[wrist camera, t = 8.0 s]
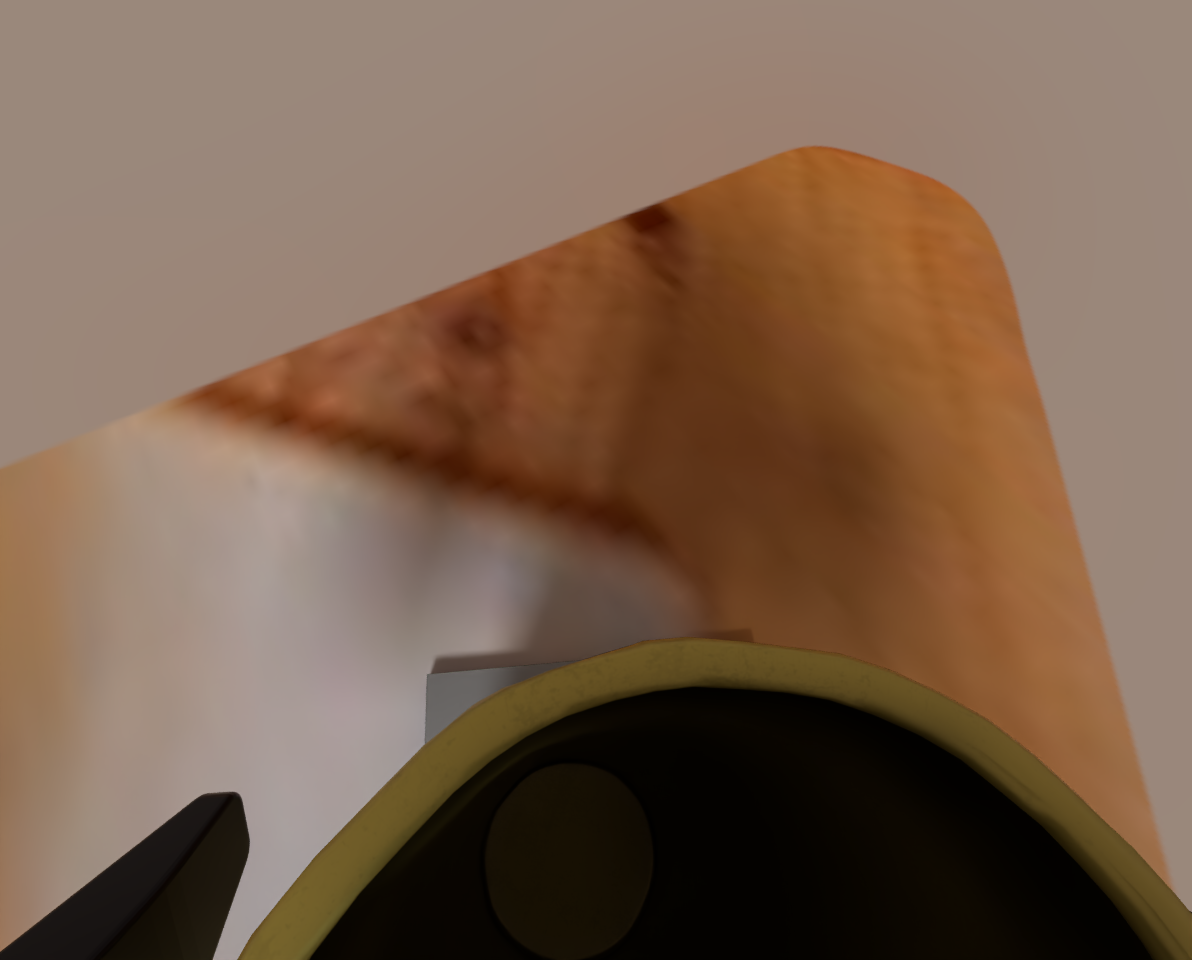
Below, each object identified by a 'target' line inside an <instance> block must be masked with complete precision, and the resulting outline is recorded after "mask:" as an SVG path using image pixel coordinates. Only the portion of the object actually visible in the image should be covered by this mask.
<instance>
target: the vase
mask: <svg viewBox="0 0 1192 960" xmlns="http://www.w3.org/2000/svg"><path fill="white" fill-rule="evenodd" d="M237 960H1192V913H1191V912H1190V911H1189V910H1188V909H1187V908H1186V906H1185V905H1184V904H1183V903H1182V902H1181V901H1180V899H1179V898H1178V897H1177V896H1176V895H1175V893H1174V892H1173V891H1172V890H1171V889H1170V888H1169V887H1168V886H1167V885H1166V884H1165V882H1164V881H1163V880H1162V879H1161V878H1160V877H1159V876H1158V875H1157V874H1156V872H1155V871H1154V870H1153V869H1152V868H1151V867H1150V866H1149V865H1148V864H1147V863H1146V861H1145V860H1144V859H1143V858H1142V857H1141V856H1140V855H1139V854H1138V853H1137V851H1136V850H1135V849H1134V848H1133V847H1132V846H1131V845H1130V844H1128V843H1127V842H1126V841H1125V840H1124V839H1123V838H1122V837H1121V836H1120V835H1119V834H1118V833H1117V832H1116V831H1114V830H1113V829H1112V828H1111V827H1110V826H1109V825H1108V824H1107V823H1106V822H1105V821H1104V820H1103V819H1102V818H1101V817H1100V816H1099V815H1098V814H1097V813H1096V812H1095V811H1094V810H1093V809H1092V808H1091V807H1090V806H1089V805H1088V804H1087V803H1086V802H1085V801H1084V800H1083V799H1082V798H1081V797H1080V796H1079V795H1078V794H1077V793H1076V792H1074V791H1073V790H1072V789H1071V788H1070V787H1069V786H1068V785H1067V784H1066V783H1065V782H1063V781H1062V780H1061V779H1060V778H1059V777H1058V776H1057V775H1056V774H1055V773H1054V772H1053V771H1051V770H1050V769H1049V768H1048V767H1047V766H1046V765H1045V764H1044V763H1043V762H1042V761H1040V760H1039V759H1038V758H1037V757H1036V756H1035V755H1034V754H1033V753H1031V752H1030V751H1029V750H1027V749H1026V748H1025V747H1024V746H1022V745H1021V744H1020V743H1018V742H1017V741H1016V740H1014V739H1013V738H1012V737H1011V736H1009V735H1008V734H1007V733H1005V732H1004V731H1003V730H1001V729H1000V728H999V727H997V726H996V725H995V724H994V723H992V722H991V721H990V720H988V719H987V718H985V717H983V716H981V715H980V714H978V713H976V712H974V711H972V710H971V709H969V708H967V707H965V706H963V705H962V704H960V703H958V702H956V701H954V700H952V699H951V698H949V697H947V696H945V695H943V694H942V693H940V692H938V691H935V690H933V689H931V688H929V687H927V686H924V685H922V684H920V683H918V682H916V681H913V680H911V679H909V678H907V677H905V676H902V675H900V674H898V673H896V672H894V671H892V670H889V669H886V668H883V667H880V666H877V665H874V664H871V663H868V662H865V661H862V660H859V659H856V658H852V657H849V656H846V655H843V654H839V653H832V652H824V651H816V650H809V649H801V648H793V647H785V646H777V645H768V644H760V643H751V642H743V641H731V640H719V639H707V638H695V637H680V638H669V639H658V640H647V641H641V642H639V643H636V644H633V645H630V646H627V647H624V648H620V649H617V650H614V651H610V652H607V653H604V654H600V655H597V656H594V657H591V658H588V659H584V660H581V661H578V662H575V663H572V664H568V665H565V666H562V667H559V668H556V669H552V670H549V671H547V672H544V673H542V674H539V675H537V676H534V677H532V678H529V679H527V680H524V681H522V682H519V683H516V684H513V685H510V686H507V687H504V688H502V689H500V690H498V691H497V692H495V693H493V694H491V695H489V696H488V697H486V698H484V699H482V700H480V701H479V702H477V703H475V704H474V705H472V706H471V707H470V708H468V709H467V710H466V711H465V712H464V713H462V714H461V715H460V716H459V717H458V718H456V719H455V720H454V721H453V722H452V723H450V724H449V725H448V726H447V727H446V728H444V729H443V730H442V731H441V732H440V733H438V734H437V735H436V736H435V737H433V738H432V739H431V740H430V741H428V742H427V743H426V744H425V745H424V746H423V747H422V748H421V749H420V750H419V751H418V752H417V753H416V754H415V755H414V756H413V757H412V758H411V759H410V760H409V761H408V762H407V763H406V764H405V765H404V766H403V767H402V768H401V769H400V770H399V771H398V772H397V773H396V774H395V775H394V776H393V777H392V778H391V779H390V780H389V781H388V782H387V783H386V784H385V785H384V786H383V787H382V788H381V789H380V790H379V791H378V792H377V793H376V795H375V796H374V797H373V798H372V799H371V800H370V801H369V802H368V803H367V804H366V805H365V806H364V807H363V808H362V809H361V810H360V811H359V812H358V813H357V814H356V815H355V816H354V817H353V818H352V819H351V820H350V821H349V822H348V823H347V824H346V825H345V826H344V827H343V829H342V830H341V831H340V832H339V833H338V834H337V835H336V836H335V837H334V838H333V839H332V840H331V841H330V842H329V843H328V844H327V845H326V846H325V847H324V848H323V849H322V850H321V851H320V852H319V853H318V854H317V855H316V856H315V858H314V859H313V860H312V861H311V862H310V864H309V865H308V866H307V867H306V869H305V870H304V871H303V872H302V873H301V875H300V876H299V877H298V878H297V880H296V881H295V882H294V883H293V885H292V886H291V887H290V888H289V890H288V891H287V892H286V893H285V894H284V896H283V897H282V898H281V899H280V901H279V902H278V903H277V904H276V906H275V907H274V908H273V909H272V910H271V912H270V913H269V914H268V915H267V917H266V918H265V919H264V920H263V922H262V923H261V924H260V925H259V927H258V928H257V929H256V930H255V931H254V933H253V934H252V935H251V937H250V939H249V941H248V942H247V944H246V946H245V947H244V949H243V951H242V953H241V954H240V956H239V958H238V959H237Z"/></svg>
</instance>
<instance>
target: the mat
mask: <svg viewBox="0 0 1192 960" xmlns="http://www.w3.org/2000/svg"><path fill="white" fill-rule="evenodd" d="M579 661H581V660H579ZM575 662H578V661H568V662H557V663H546V664H535V665H524V666H513V667H502V668H491V669H480V670H469V671H458V672H448V673H437V674H427V687H426V722H425V744H426V743H427V742H428V741H430V740H431V739H432V738H433V737H435V736H436V735H437V734H438V733H440V732H441V731H442V730H443V729H444V728H446V727H447V726H448V725H449V724H450V723H452V722H453V721H454V720H455V719H456V718H458V717H459V716H460V715H461V714H462V713H464V712H465V711H466V710H467V709H468V708H470V707H471V706H472V705H474V704H475V703H477V702H479V701H480V700H482V699H484V698H486V697H488V696H489V695H491V694H493V693H495V692H497V691H498V690H500V689H502V688H504V687H507V686H510V685H513V684H516V683H519V682H522V681H524V680H527V679H529V678H532V677H534V676H537V675H539V674H542V673H544V672H547V671H549V670H552V669H556V668H559V667H562V666H565V665H568V664H572V663H575Z"/></svg>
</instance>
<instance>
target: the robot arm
mask: <svg viewBox="0 0 1192 960" xmlns="http://www.w3.org/2000/svg"><path fill="white" fill-rule="evenodd" d="M249 847H250V839H249V833H248V827H247V822H246V817H245V812H244V807H243V802H242V798H241V796H240V795H239V794H238V793H237V792H219V793H207V794H203V795H201V796H200V797H198V798H196V799H195V800H194V801H192V802H191V803H190V804H189V805H187V806H186V807H185V808H183V809H182V810H181V811H180V812H178V813H177V814H176V815H175V816H173V817H172V818H171V819H169V820H168V821H167V822H166V823H164V824H163V825H162V826H160V827H159V828H158V829H157V830H155V831H154V832H153V833H152V834H150V835H149V836H148V837H146V838H145V839H144V840H143V841H141V842H140V843H139V844H137V845H136V846H135V847H134V848H132V849H131V850H130V851H129V852H127V853H126V854H125V855H123V856H122V857H121V858H120V859H118V860H117V861H116V862H114V863H113V864H112V865H111V866H109V867H108V868H107V869H106V870H104V871H103V872H102V873H100V874H99V875H98V876H97V877H95V878H94V879H93V880H91V881H90V882H89V883H88V884H86V885H85V886H84V887H82V888H81V889H80V890H79V891H77V892H76V893H75V894H74V895H72V896H71V897H70V898H68V899H67V900H66V901H65V902H63V903H62V904H61V905H59V906H58V907H57V908H56V909H54V910H53V911H52V912H51V913H49V914H48V915H47V916H45V917H44V918H43V919H42V920H40V921H39V922H38V923H36V924H35V925H34V926H33V927H31V928H30V929H29V930H28V931H26V932H25V933H24V934H22V935H21V936H20V937H19V938H17V939H16V940H15V941H13V942H12V943H11V944H10V945H8V946H7V947H6V948H5V949H3V950H2V951H1V952H0V960H213V957H214V954H215V951H216V948H217V945H218V943H219V940H220V937H221V934H222V931H223V928H224V925H225V922H226V919H227V917H228V914H229V911H230V908H231V905H232V902H233V899H234V896H235V893H236V891H237V888H238V885H239V882H240V879H241V876H242V873H243V870H244V867H245V865H246V862H247V858H248V854H249ZM1190 912H1191V911H1190ZM1191 913H1192V912H1191Z"/></svg>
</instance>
